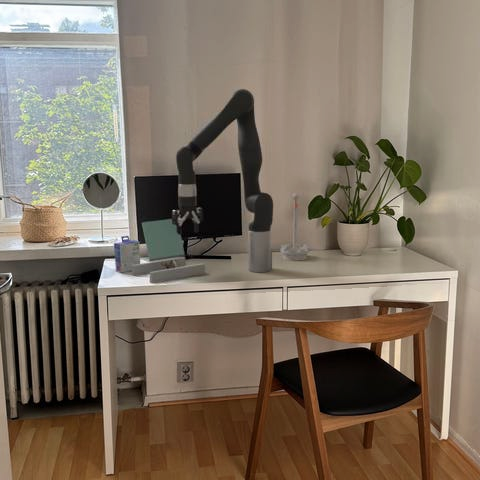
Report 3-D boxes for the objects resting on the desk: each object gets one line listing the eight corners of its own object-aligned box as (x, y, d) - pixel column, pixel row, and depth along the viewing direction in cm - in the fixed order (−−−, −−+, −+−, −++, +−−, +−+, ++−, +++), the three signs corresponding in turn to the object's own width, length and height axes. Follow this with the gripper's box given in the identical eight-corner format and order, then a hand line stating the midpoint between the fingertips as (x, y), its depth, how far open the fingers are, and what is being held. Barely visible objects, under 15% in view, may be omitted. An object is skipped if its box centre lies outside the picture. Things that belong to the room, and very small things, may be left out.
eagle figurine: (156, 271, 259) (166, 271, 251) (163, 255, 261) (173, 255, 253) (171, 278, 262) (181, 279, 255) (177, 263, 264) (188, 263, 257)
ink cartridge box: (134, 267, 271) (133, 234, 268) (141, 269, 267) (140, 236, 264) (114, 270, 265) (113, 237, 262) (121, 272, 261) (119, 239, 258)
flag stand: (278, 255, 294) (278, 191, 288) (305, 254, 295) (306, 191, 289) (283, 261, 281) (283, 195, 275) (311, 260, 282) (312, 194, 276)
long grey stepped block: (183, 266, 272) (183, 257, 272) (204, 273, 259) (204, 263, 258) (132, 274, 258) (131, 265, 257) (151, 282, 244) (151, 272, 244)
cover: (184, 255, 270) (183, 256, 271) (177, 218, 272) (175, 219, 273) (150, 261, 260) (149, 261, 261) (142, 222, 262) (141, 222, 263)
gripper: (177, 196, 251) (178, 236, 254) (206, 194, 259) (207, 232, 262) (167, 195, 257) (168, 234, 260) (196, 192, 265) (197, 230, 268)
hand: (188, 233), depth 261 cm, fingers open, 7 cm apart
